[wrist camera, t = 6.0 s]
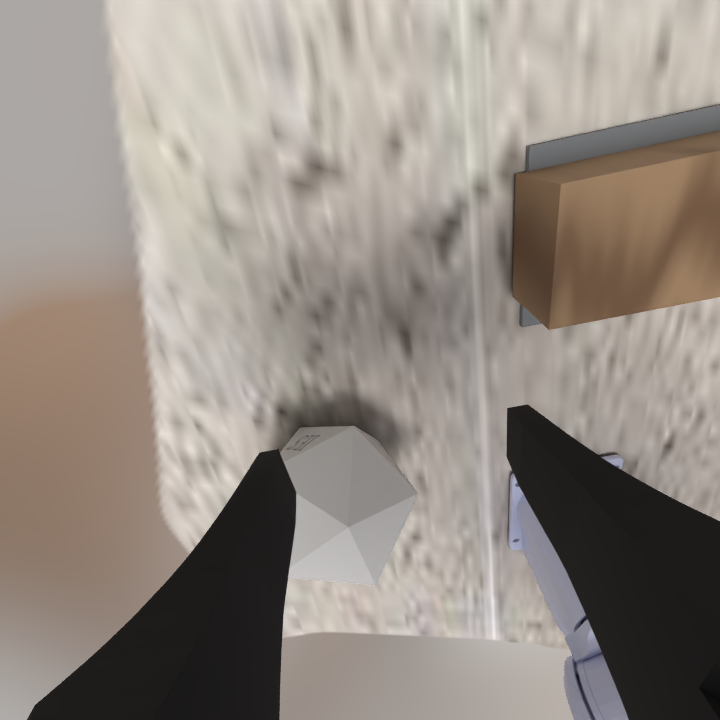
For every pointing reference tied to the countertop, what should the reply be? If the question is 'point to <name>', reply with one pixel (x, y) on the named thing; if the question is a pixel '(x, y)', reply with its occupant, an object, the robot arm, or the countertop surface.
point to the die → (344, 504)
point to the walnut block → (619, 232)
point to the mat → (618, 147)
